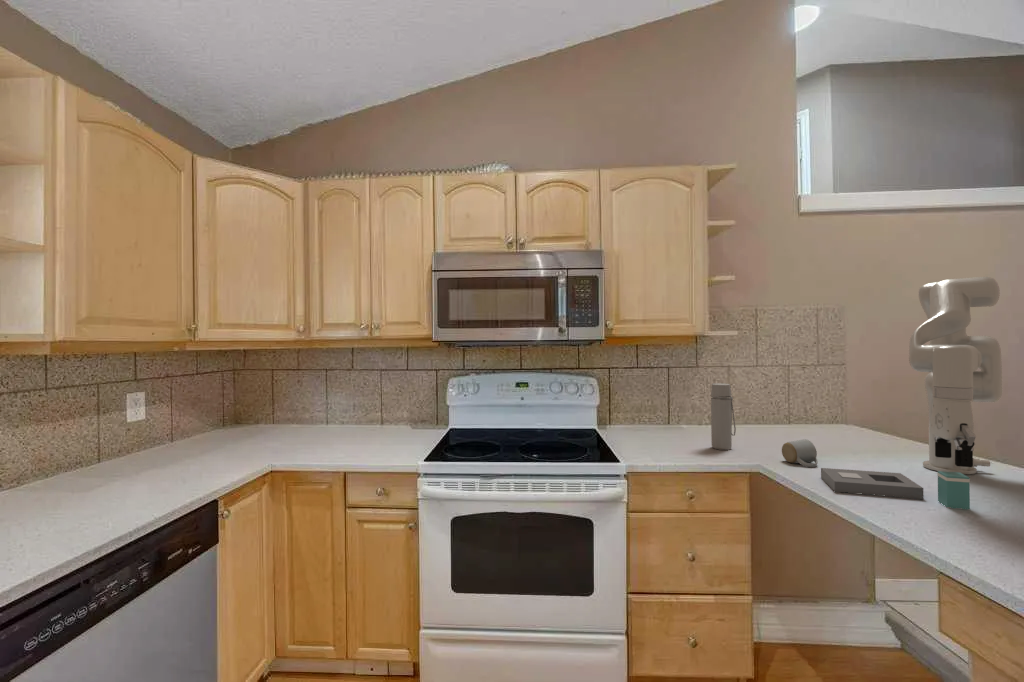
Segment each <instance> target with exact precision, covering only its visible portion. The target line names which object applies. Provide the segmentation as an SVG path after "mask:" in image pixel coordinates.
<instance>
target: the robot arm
mask: <svg viewBox="0 0 1024 682" xmlns="http://www.w3.org/2000/svg"><path fill="white" fill-rule="evenodd" d="M1000 294H1001V293H1000V286H999V283H998V282H997V281H996V279H995V278H994V277H990V276H976V277H964V278H963V277H960V278H949V279H948V278H947V279H943V280H940V281H934V282H929V283H926V284H923V285H921V286H920V287H919V289H918V299H919V302H920V306H921V309H922V310H923V312H924V314H925V315H926V318H927V319H926V320H925V321H924V322H922V323H921V324H919V325H918V326H917V327H916V329H914V331H913V332H912V334H911V335H910V337H909V342H908V343H909V345H908V361H909V365H910V367H911V369H913V371H916V372H920V373H927V374H926V375H925V377H924V387H925V388H924V389H925V391H926V398H927V407H928V408H927V409H928V460H925V461H923V462H922V466H923V467H924V468H926V469H929V470H930V471H936V472H938V471H944V472H959V473H961V474H963V475H975V474H977V472H978V471H977V467H978V466H981V467H989V468H990V466H991V461H990V460H989V459H988V460H987V459H979V458H974V455H973V454H974V453H973V452H974V450H975V449H974V446H975V445H976V443H975V440H976V437H977V436H976V434H975V432H974V416H973V408H972V402H974V403H995V402H998V401H999V400H1001V397H1002V394H1003V375H1002V374H1003V372H1002V369H1003V368H1002V350H1001V345H1000V343H999V341H998V340H997V339H996V338H995V337H992V336H986V335H967V327H969V326H970V324H971V320H972V318H971V317H972V316H971V308H982V307H994V306H995V305H997V304H998V302H999V300H1000ZM928 342H929V344H926V343H928ZM978 369H980V371H979V370H978Z"/></svg>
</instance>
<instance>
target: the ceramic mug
mask: <svg viewBox="0 0 1024 682" xmlns="http://www.w3.org/2000/svg"><path fill="white" fill-rule="evenodd" d="M781 454H782V456H783V459H784V460H785V461H786V462H787V463H790V464H800V465H801V466H803V467H806V468H816V467H817V466H818V462H819V461H818V459H817V456H818V455H817V454H818V452H817V447H816V446H815V445H814V443H813V442H812V441H811V440H809V439H805V438H804V439H799V440H791V441H787V442H784V444H783V445H782V447H781Z"/></svg>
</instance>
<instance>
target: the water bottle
mask: <svg viewBox="0 0 1024 682" xmlns="http://www.w3.org/2000/svg"><path fill="white" fill-rule="evenodd" d="M710 390H711V391H710V397H711V398H710V416H711V417H710V419H711V420H710V423H711V424H710V425H711V426H710V427H711V429H710V430H711V434H710V435H711V447H712V448H713V449H715V450H720V451H727V450H728V451H729V450H731V449H732V448H733V447H732V442H733V441H732V439H733V437H732V436H736V430H737V428H736V427H737V426H736V422H735V421H736V420H735V413H734V405H733V399H734V397H733V396H732V390H731V384H730V383H721V382H720V383H719V382H718V383H711V389H710ZM732 422H733V423H732ZM732 425H733V426H732ZM732 428H733V429H734V431H733V432H732Z"/></svg>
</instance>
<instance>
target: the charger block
mask: <svg viewBox="0 0 1024 682" xmlns="http://www.w3.org/2000/svg"><path fill="white" fill-rule="evenodd" d="M936 474H937V476H936V477H937V502H938V501H939V502H940V503H939V502H938V503H939V504H941V503H942V504H943V505H942V504H941V505H942V506H944V505H945V506H946V508H947V507H951V508H950V509H956V508H962V509H961V510H968V509H970V507H971V505H970V503H971V502H970V501H971V499H970V498H971V497H970V495H971V493H970V492H971V490H970V489H971V488H970V486H971V485H970V483H971V479H970V477H969V476H967V475H966V474H961V473H959V472H944V471H937V473H936ZM945 506H944V507H945ZM970 510H971V509H970Z"/></svg>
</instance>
